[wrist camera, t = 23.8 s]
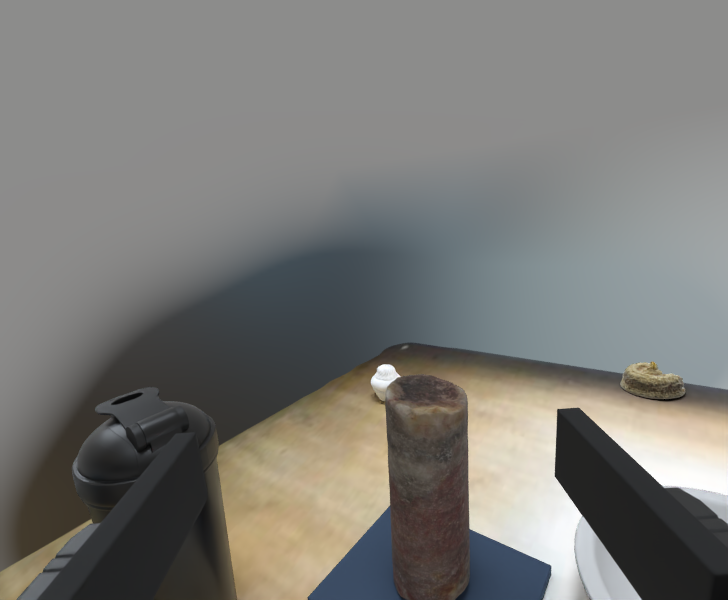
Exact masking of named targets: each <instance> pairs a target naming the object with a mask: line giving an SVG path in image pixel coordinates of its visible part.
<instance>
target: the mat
mask: <svg viewBox="0 0 728 600" xmlns="http://www.w3.org/2000/svg"><path fill="white" fill-rule="evenodd" d="M390 516H391V514H390V506H389V507H388V508H387V510H386V511H385V512H384V513H383V514H382V515H381V516H380V517H379V519H378V520H377V521H376V522H375V523H374V524H373V525H372V526H371V527H370V529H369V530H368V531H367V532H366V533H365V534H364V535H363V536H362V538H361V539H360V540H359V541H358V542H357V543H356V544H355V545H354V546H353V548H352V549H351V550H350V551H349V552H348V553H347V554H346V555H345V557H344V558H343V559H342V560H341V561H340V562H339V563H338V564H337V565H336V567H335V568H334V569H333V570H332V571H331V572H330V573H329V574H328V576H327V577H326V578H325V579H324V580H323V581H322V582H321V583H320V584H319V586H318V587H317V588H316V589H315V590H314V591H313V592H312V593H311V594H310V596H309V597H308V600H407V599H404V598H403V597H401V596H400V594H399V593H398V591H397V589H396V586H395V583H394V578H393V562H392V539H391V519H390ZM469 539H470V578H469V583H468V586H467V587H466V588H465V590H464V591H463V592H462V593H461V594H460V595H459V596H458V597H457V598H456V599H455V600H543V597H544V593H545V590H546V587H547V584H548V581H549V578H550V575H551V565H548V564H546V563H544V562H542V561H539V560H537V559H535V558H533V557H530V556H528V555H526V554H524V553H522V552H519V551H517V550H515V549H513V548H510V547H508V546H506V545H504V544H501V543H499V542H497V541H495V540H492V539H490V538H488V537H486V536H483V535H481V534H479V533H477V532H475V531H472V530H470V529H469Z"/></svg>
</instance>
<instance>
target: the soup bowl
mask: <svg viewBox="0 0 728 600" xmlns="http://www.w3.org/2000/svg"><path fill="white" fill-rule="evenodd" d="M663 487H664V488H674V487H677V486H663ZM678 488H680V489H682V490H683V491H685V492H687V493H689V494H691V495H692V496H694V497H696V498H698V499H699V500H701V501H702V502H703V503H704V504H705V505H706V506H708V507H709V508H710V509H711V510H712V511H713V512H714V513H716V514H717V515H718V518H719V519H720V518H721V519H722V520H724V521H725V522H726V523H727V524H728V496H727V495H723V494H719V493H715V492H710V491H705V490H699V489H693V488H686V487H678ZM574 550H575V558H576V563H577V567H578V571H579V574H580V577H581V580H582V582H583V585H584V588H585V590H586V592H587V594H588V596H589V598H590V600H642V599H641V598H640V597H639V595H638V594H637V592H636V591H635V589H634V588H633V587H632V585H631V584H630V582H629V581H628V579H627V578H626V577H625V575H624V574H623V572H622V571H621V570H620V568H619V567H618V565H617V564H616V562H615V561H614V560H613V558H612V557H611V555H610V554H609V552H608V551H607V550H606V548H605V547H604V545H603V544H602V542H601V541H600V540H599V538H598V537H597V535H596V534H595V533H594V531H593V530H592V528H591V527H590V525H589V524H588V523H587V521H586V520H585V518H584V517H583V516H582V517H581V519H580V521H579V523H578V526H577V529H576V534H575V546H574Z"/></svg>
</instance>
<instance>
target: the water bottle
mask: <svg viewBox="0 0 728 600" xmlns="http://www.w3.org/2000/svg"><path fill="white" fill-rule="evenodd" d="M158 395H159V390H158V389H157V388H155V387H147V388H143V389H139V390H136V391H134V392H130V393H128V394H125V395H122V396H119V397H117V398H114V399H112V400H109V401H106V402H104V403H102V404H100V405H98V406H97V407H96V409H95V410H96V412H97V413H98V414H101V415H111V419H109V420H107V421H106V422H105V423H103V424H102V425H101V426H99V427H98V428H97V429H96V430H95V431H94V432H93V433H92V434H91V435H90V436H89V437H88V438H87V439H86V441H85V442H84V444H83V445H82V447H81V449H80V451H79V455H78V456H77V458H76V459H75V461H74V463H73V466H72V475H73V479H74V483H75V486H76V490H77V493H78V495H79V497H80V498H81V500H82V501H83V502H84V503H85V504H86V505H87V506H88V509H89V512H90V515H91V518H92V522H93V524H94V523H101V522H102V521H103V520H104V519H105V517H106V516H107V515H108V514H109V513H110V511H111V510H112V509H113V508H114V507H115V505H116V504H117V503H118V502H119V501H120V499H121V498H122V497H123V496H124V495H125V493H126V492H127V491H128V490H129V489H130V488H131V486H132V485H133V484H134V483H135V482H136V480H137V479H138V478H139V477H140V476H141V474H142V473H143V472H144V471H145V470H146V468H147V467H148V466H149V465H150V464H151V462H152V461H153V460H154V459H155V458H156V456H157V455H158V454H159V453H160V452H161V450H162V449H163V448H164V447H165V446H166V444H167V443H168V442H169V441H170V440H171V439H172V437H173V436H174V435H175V434H178V433H194V432H196V434H197V439H198V445H199V450H200V455H201V461H202V466H203V471H204V477H205V482H206V487H207V493H208V499H207V501H206V502H205V504H204V506H203V508H202V510H201V512H200V513H199V515H198V517H197V519H196V521H195V523H194V525H193V526H192V528H191V530H190V532H189V534H188V536H187V538H186V539H185V541H184V543H183V545H182V547H181V549H180V550H179V552H178V554H177V556H176V558H175V560H174V562H173V563H172V565H171V567H170V569H169V571H168V573H167V575H166V576H165V578H164V580H163V582H162V584H161V586H160V587H159V589H158V591H157V593H156V595H155V597H154V599H153V600H237V597H236V590H235V583H234V576H233V569H232V562H231V555H230V548H229V541H228V534H227V527H226V520H225V513H224V506H223V499H222V492H221V485H220V478H219V471H218V464H217V454H218V446H219V443H218V436H217V431H216V425H215V423H214V421H213V419H212V418H211V417H209V416H208V415H206V414H205V413H204V412H203V411H202V410H200V409H199V408H197V407H195V406H192V405H190V404H187V403H182V402H173V401H165V402H163V401H162V400H160V399H159V398H158Z"/></svg>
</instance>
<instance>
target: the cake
mask: <svg viewBox="0 0 728 600" xmlns="http://www.w3.org/2000/svg"><path fill="white" fill-rule="evenodd" d="M622 376H624V377H623V379H622V381H621V382H620V386H621V388H623V389H624V390H625V391H627V392H629V393H632V394H634V395H637V396H641V397H646V398H651V399H654V398H655V399H672V398H677V397H678V398H679V397H681V396H683V395H684V394H685V393H686V392H685V391H686V390H685V388H684V387H683V386H684V383H683V381H682V380H683V379H682V378H681V377H680V376H676V375H674V374H662V372H661V371H660V370H658V367H657V364H655V363H654V362H651V364H648V363H646V362H644V363H636V364H631V365H630V366H628V367H627V368H626V369H625V372H624V373H623V375H622Z"/></svg>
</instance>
